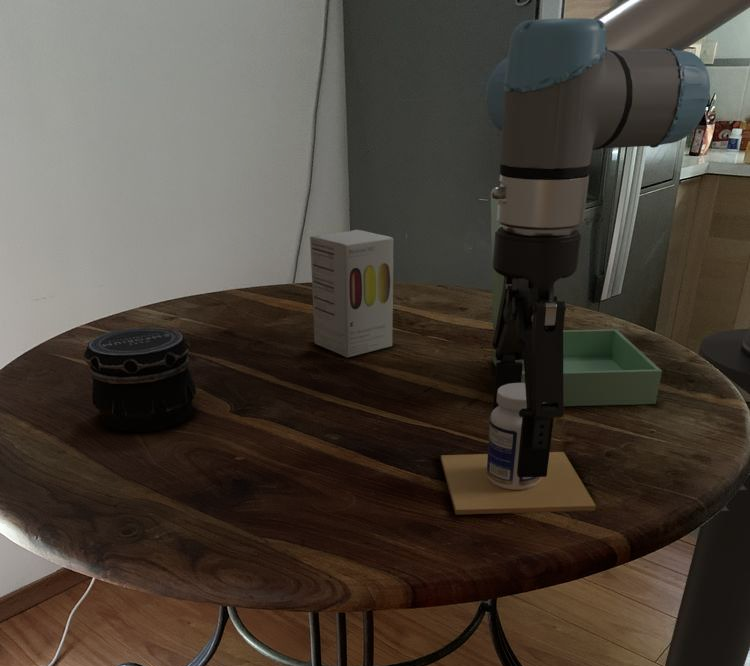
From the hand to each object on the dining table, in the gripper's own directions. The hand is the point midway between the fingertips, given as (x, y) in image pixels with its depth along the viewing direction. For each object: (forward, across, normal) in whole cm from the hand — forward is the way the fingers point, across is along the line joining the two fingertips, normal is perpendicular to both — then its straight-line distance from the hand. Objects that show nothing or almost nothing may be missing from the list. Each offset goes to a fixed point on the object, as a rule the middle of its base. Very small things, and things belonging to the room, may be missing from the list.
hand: (517, 445), depth 76 cm
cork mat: (+4, 0, 0) cm, 4 cm away
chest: (+4, -29, +14) cm, 33 cm away
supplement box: (+5, -47, -16) cm, 50 cm away
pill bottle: (+4, 0, 0) cm, 4 cm away
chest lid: (-10, -29, +4) cm, 31 cm away
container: (+5, -21, -43) cm, 48 cm away
